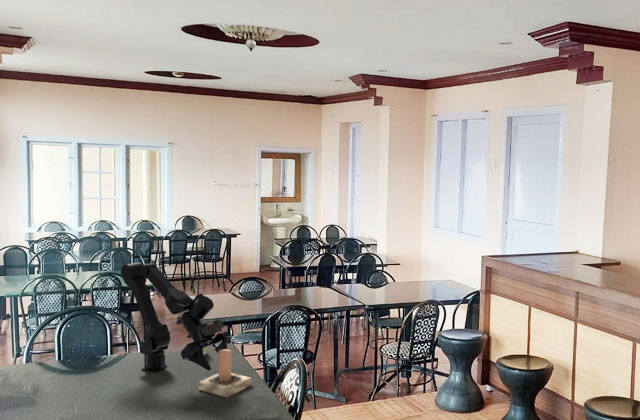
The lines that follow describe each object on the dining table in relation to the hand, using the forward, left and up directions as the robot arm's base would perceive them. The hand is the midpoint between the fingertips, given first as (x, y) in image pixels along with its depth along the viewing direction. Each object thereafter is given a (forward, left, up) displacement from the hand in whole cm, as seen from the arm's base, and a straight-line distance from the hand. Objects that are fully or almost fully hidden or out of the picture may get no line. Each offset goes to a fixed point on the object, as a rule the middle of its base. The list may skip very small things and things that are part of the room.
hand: (219, 365), depth 188 cm
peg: (+2, 0, -7) cm, 7 cm away
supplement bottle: (-24, +26, -7) cm, 36 cm away
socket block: (+2, 0, -7) cm, 7 cm away
